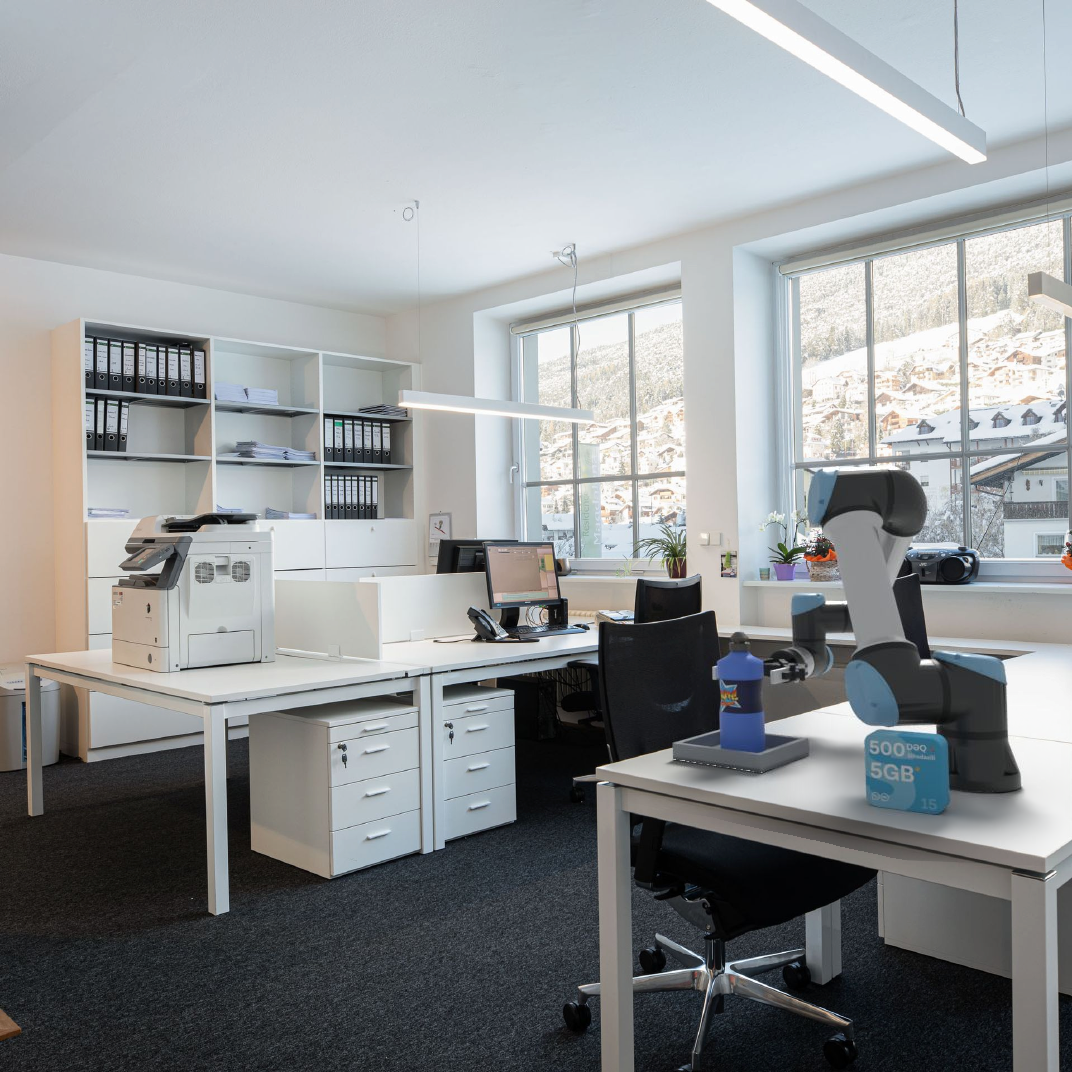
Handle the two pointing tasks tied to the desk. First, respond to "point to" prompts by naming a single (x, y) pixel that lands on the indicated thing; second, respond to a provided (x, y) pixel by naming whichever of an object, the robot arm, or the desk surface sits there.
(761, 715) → the water bottle
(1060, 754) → the desk surface
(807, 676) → the robot arm
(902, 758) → the data package
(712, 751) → the tray
